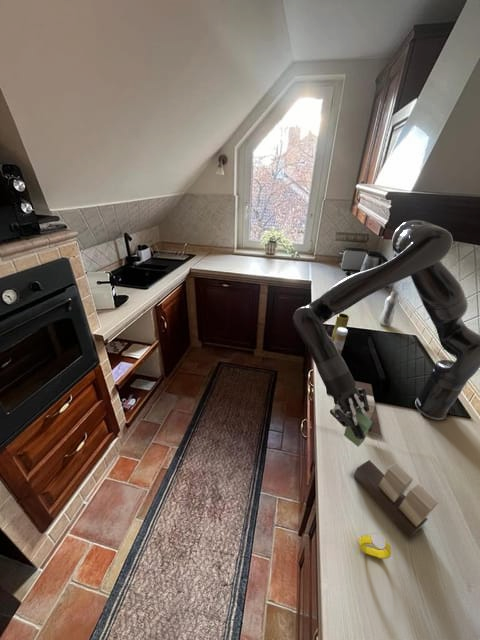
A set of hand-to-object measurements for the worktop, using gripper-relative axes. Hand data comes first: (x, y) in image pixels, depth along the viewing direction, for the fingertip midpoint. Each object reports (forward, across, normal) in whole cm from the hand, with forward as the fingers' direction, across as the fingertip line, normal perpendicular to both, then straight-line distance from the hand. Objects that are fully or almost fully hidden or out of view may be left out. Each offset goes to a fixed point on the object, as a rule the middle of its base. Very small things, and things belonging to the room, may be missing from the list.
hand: (364, 434), depth 66 cm
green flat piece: (+1, 0, +4) cm, 5 cm away
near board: (+3, +23, +18) cm, 29 cm away
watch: (+20, -14, +1) cm, 24 cm away
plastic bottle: (-14, +90, +34) cm, 97 cm away
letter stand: (+18, -1, +3) cm, 18 cm away
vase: (-18, +54, +39) cm, 69 cm away
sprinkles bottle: (-14, +44, +35) cm, 58 cm away
